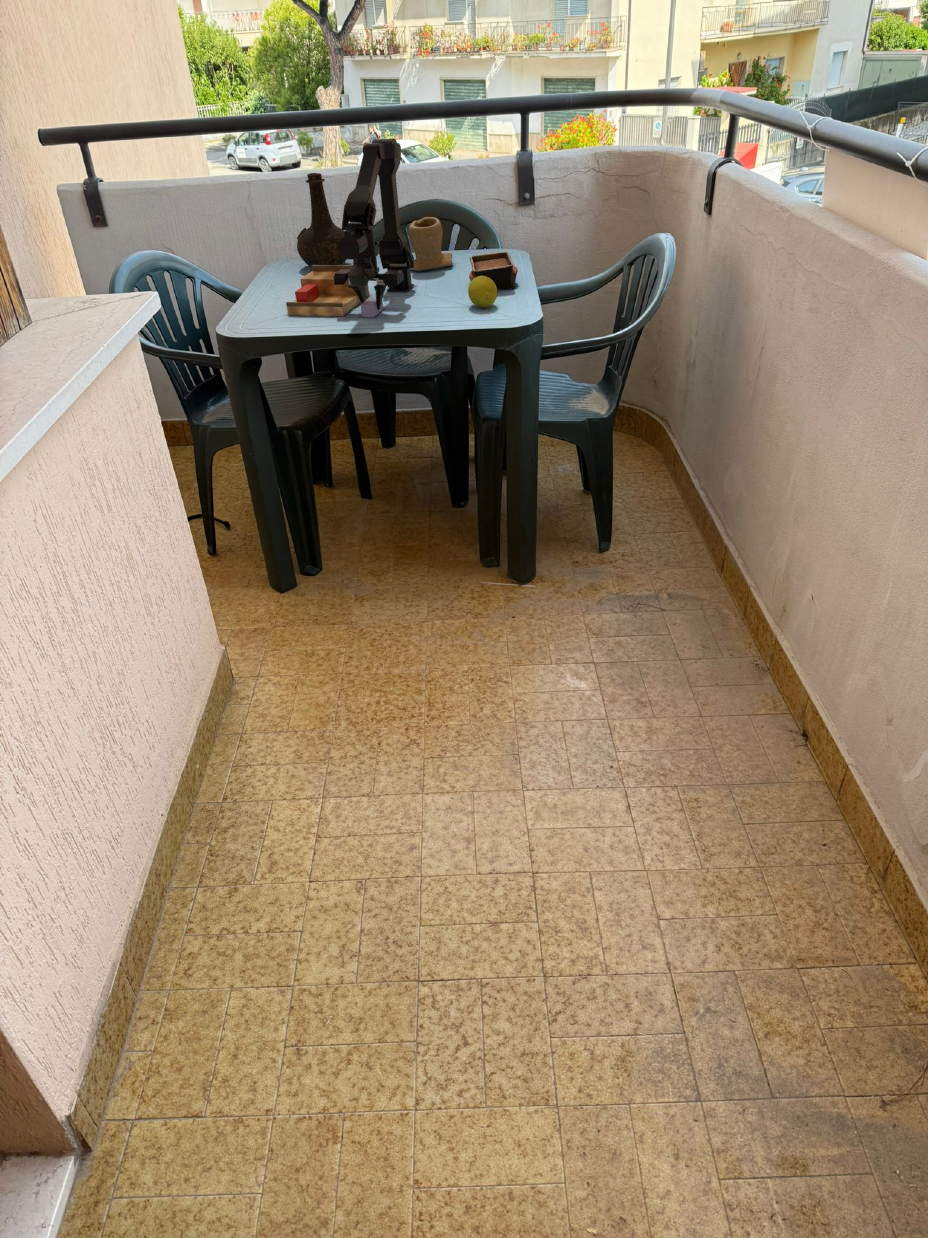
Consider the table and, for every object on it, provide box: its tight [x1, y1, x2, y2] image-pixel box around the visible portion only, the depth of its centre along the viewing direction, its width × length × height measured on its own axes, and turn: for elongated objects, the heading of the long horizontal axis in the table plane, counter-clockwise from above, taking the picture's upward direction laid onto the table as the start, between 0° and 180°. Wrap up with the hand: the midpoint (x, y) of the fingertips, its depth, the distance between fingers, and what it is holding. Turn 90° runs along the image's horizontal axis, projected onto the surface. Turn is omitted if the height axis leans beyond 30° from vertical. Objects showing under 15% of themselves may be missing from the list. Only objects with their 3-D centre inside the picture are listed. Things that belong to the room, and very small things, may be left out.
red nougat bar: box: [294, 284, 319, 302], centre depth 239 cm, size 4×8×3 cm, turn 164°
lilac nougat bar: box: [360, 296, 384, 318], centre depth 233 cm, size 4×8×3 cm, turn 164°
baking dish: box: [468, 251, 519, 291], centre depth 248 cm, size 14×18×10 cm
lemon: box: [467, 276, 498, 308], centre depth 231 cm, size 11×8×8 cm
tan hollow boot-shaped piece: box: [408, 216, 453, 272], centre depth 265 cm, size 15×12×15 cm
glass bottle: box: [296, 172, 348, 268], centre depth 273 cm, size 18×18×28 cm
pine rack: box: [285, 264, 370, 317], centre depth 241 cm, size 17×20×8 cm
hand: (372, 309), depth 234 cm, fingers closed on lilac nougat bar, 3 cm apart
